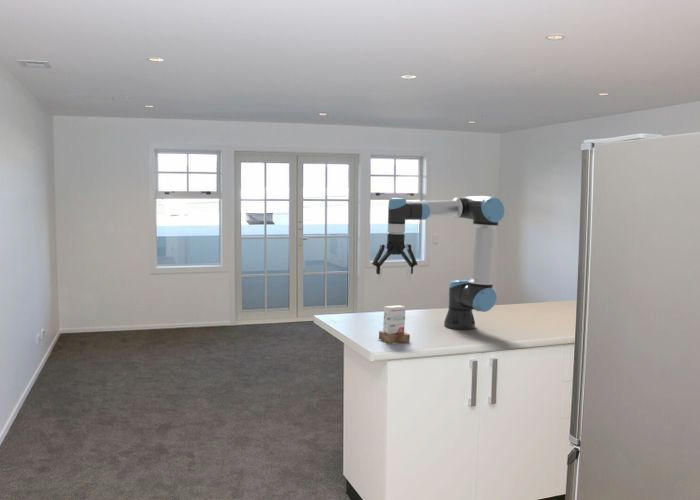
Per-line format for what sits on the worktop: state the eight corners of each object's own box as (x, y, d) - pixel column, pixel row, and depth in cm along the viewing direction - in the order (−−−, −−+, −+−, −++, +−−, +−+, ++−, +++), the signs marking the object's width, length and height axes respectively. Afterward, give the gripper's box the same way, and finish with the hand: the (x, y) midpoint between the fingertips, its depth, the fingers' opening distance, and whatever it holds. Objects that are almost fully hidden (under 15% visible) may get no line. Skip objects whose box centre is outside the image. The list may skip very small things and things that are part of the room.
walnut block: (398, 338, 306) (398, 329, 306) (409, 343, 297) (409, 334, 296) (378, 339, 302) (379, 331, 301) (389, 345, 293) (389, 335, 292)
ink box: (398, 330, 304) (400, 304, 302) (404, 332, 299) (406, 306, 298) (382, 331, 299) (383, 305, 298) (388, 334, 295) (389, 307, 294)
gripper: (419, 232, 302) (417, 279, 305) (366, 232, 295) (364, 280, 297) (425, 234, 295) (423, 282, 297) (371, 233, 288) (370, 283, 290)
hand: (394, 281), depth 297 cm, fingers open, 13 cm apart
